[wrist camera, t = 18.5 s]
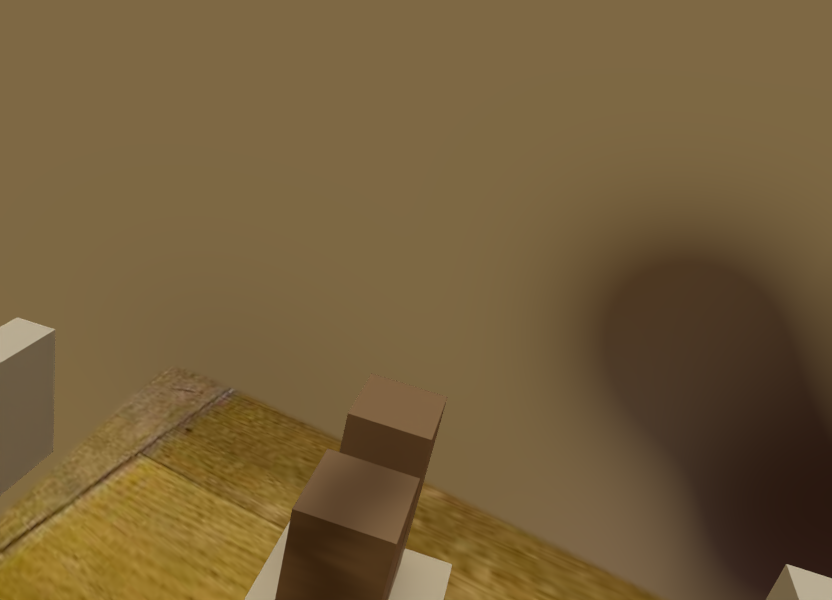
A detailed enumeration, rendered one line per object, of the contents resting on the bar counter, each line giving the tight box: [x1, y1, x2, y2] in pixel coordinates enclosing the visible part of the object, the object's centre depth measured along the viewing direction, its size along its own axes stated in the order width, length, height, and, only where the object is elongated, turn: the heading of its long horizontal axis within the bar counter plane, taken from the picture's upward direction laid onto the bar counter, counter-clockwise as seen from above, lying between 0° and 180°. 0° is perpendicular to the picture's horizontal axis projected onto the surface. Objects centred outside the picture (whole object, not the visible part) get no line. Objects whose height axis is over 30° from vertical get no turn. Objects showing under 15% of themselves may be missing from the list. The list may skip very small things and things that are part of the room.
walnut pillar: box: [275, 449, 420, 600], centre depth 38 cm, size 5×5×14 cm
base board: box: [244, 374, 452, 600], centre depth 42 cm, size 12×18×17 cm, turn 167°
